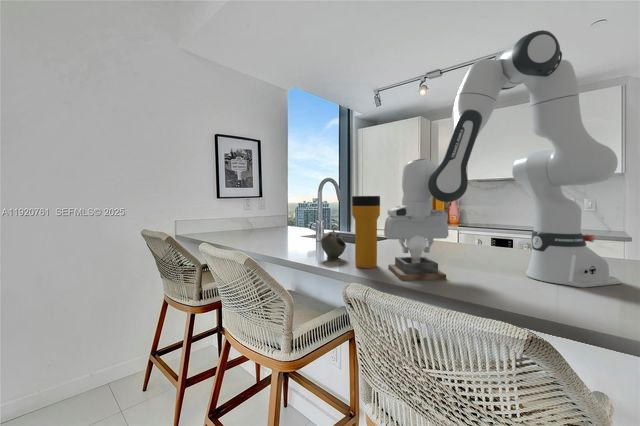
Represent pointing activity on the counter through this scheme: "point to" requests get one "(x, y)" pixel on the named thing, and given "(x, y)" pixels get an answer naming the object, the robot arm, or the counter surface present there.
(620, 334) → the counter surface
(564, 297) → the counter surface
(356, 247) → the flashlight
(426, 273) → the socket base
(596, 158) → the robot arm
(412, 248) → the lightbulb
